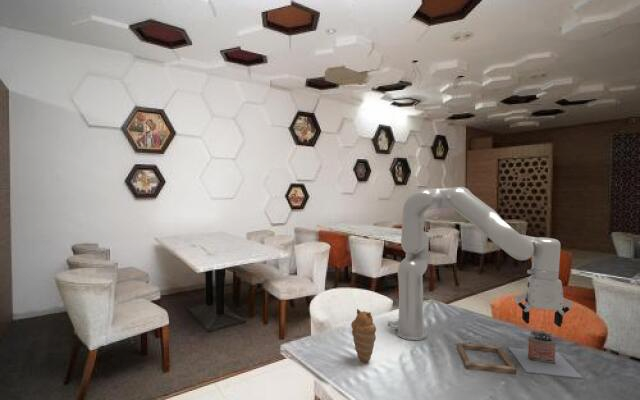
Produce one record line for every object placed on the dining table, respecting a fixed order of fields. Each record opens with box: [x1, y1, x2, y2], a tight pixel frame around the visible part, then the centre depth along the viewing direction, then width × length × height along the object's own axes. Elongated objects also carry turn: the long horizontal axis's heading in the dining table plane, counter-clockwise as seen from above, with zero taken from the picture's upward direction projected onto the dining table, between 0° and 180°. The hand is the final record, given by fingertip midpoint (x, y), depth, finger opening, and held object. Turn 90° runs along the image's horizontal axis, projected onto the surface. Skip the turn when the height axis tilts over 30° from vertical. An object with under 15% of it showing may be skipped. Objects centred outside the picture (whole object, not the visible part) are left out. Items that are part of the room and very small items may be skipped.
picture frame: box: [456, 342, 517, 375], centre depth 113 cm, size 15×15×2 cm
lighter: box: [527, 330, 557, 364], centre depth 112 cm, size 8×3×10 cm, turn 69°
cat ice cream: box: [350, 308, 377, 363], centre depth 112 cm, size 9×8×18 cm
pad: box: [508, 347, 584, 380], centre depth 111 cm, size 16×16×1 cm
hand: (541, 323), depth 111 cm, fingers open, 9 cm apart
